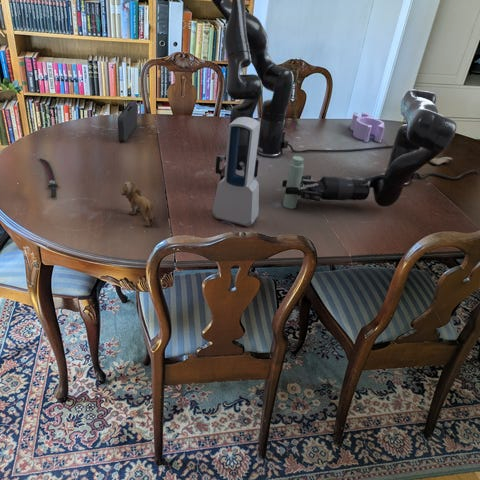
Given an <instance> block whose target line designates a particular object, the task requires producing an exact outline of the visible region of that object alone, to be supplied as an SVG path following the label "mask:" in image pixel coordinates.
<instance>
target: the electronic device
mask: <svg viewBox="0 0 480 480" xmlns="http://www.w3.org/2000/svg"><path fill="white" fill-rule="evenodd" d="M260 122H261V121H259V120H257V119H255V118H254V117H253V118H249V117H239V118H236V119H235V120H234V121H233V122H232V123H230V122H229V124H228V127H227V129H228V130H227V142H226V153H225V155H226V161H225V165H224V167H225V177H224V178H223V179H222V180H221V181H220V180H219V182H218V184H217V186H216V191H215V196H214V201H213V205H212V209H211V210H212V211H211V212H212V215H213V217H215V219H217V220H221V221H225V222H229V223H233V224H237V225H241V226H245V227H250V226H251V225H253V223H254V222H255V221H256V219H257V218H258V216H259V207H260V205H259V203H260V183H259V182H258V181H257V179H256V178H255V177H254V171H255V162H256V158H257V154H258V153H257V146H258V139H259V131H260ZM240 128H242V129H245V130H247V131H249V132H248V142H247V151H246V161H245V170H244V171H243V175H241V174H238V173H237V170H236V164H237V154H238V143H239V132H240Z"/></svg>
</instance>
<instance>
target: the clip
mask: <svg viewBox="0 0 480 480" xmlns="http://www.w3.org/2000/svg"><path fill="white" fill-rule="evenodd" d="M358 114H359V113H358V112H353V114H352V118H351V122H350V126H349V129H350V130H351V131H353V132H352V136H353V137H354V138H356V139H358V140H361V141H363V142H364V143H368V142H369V140H370V135H372V136H374V139H373V140H374V142H376V143H382V140H383V137H384V132H385V129H386V127H385V122H384V121H383V120H380V119H377V118H374V117H372V115H371V114H369V113H366V112H361V115H358Z"/></svg>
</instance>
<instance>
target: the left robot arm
mask: <svg viewBox="0 0 480 480" xmlns="http://www.w3.org/2000/svg"><path fill="white" fill-rule="evenodd" d="M210 1H211V2H212V3H213V5H214V6H215V7H216V9H217V10H218V12H219V13H220V14H221V16H222V17H223V18H224V20H225V21H226V23H227V25H226V28H225V32H224V39H223V40H224V48H225V54H226V60H227V78H226V92H227V94H228V96H229V97H230V99H232V100H235V101H240V100H241V101H242V100H243V101H242V102H241V103H239V104H236V105H234V106H233V107H231V110H230V116H229V117H230V118H229V124H230V123H232V122H233V121H234V120H235V119H236V118H239V117H249V118H253V119H254V113H255V112H256V108H257V107H258V103H259V101H260V98H261V95H262V92H263V88H264V89H266V90H267V91H269V92H271V93H272V97H271V99H266V100H263V102H262V105H261V114H260V121H259V122H260V129H259V137H258V145H257V154H258V155H259V156H262V157H264V158H265V157H266V158H277V157H279V156H281V155H282V154H283V149H284V150H285V149H288V147H289V148H290V151H292V152H293V153H297V154H298V153H299V154H300V153H308V152H320V153H321V152H322V153H324V152H327V153H328V152H329V153H333V152H334V153H335V152H336V153H337V152H339V153H340V152H342V153H343V152H359V151H370V150H377V149H378V150H379V149H388V148H393V145H394V144H393V145H383V146H374V147H373V146H372V147H365V148H352V149H304V150H294V148H293V146H292V144H290V143H289V141H288V140H286V139H285V136H286V130H284V128H285V122H286V120H285V119H286V117H287V116H286V115H287V110H288V109H287V108H289V106H290V105H289V104H290V101H291V99H290V98H292V96H291V95H292V91H293V89H292V88H294V87H293V86H294V84H293V80H294V74H293V73H294V72H293V70H289V69H287V68H286V67H284V66H280V65H278V64H276V63H275V62H274V61H273V59H272V58H271V56H270V54H269V51H268V50H269V37H268V34H267V31H266V30H265V28H264V27H263V24H262V23H261V21H260V19H259V18H258V17H256V16H255V15H254V14H252V13H250V12H248V11H247V10H246V0H210ZM250 65H252V66H253V68H254V70H255V72H256V74H253V73H252V74H241V70H242V69H243V70H244V69H246V68H248V67H249V66H250ZM248 132H249V131H247V130H245V129H242V128H240V132H239V143H238V154H237V164H236V171H243V172H244V170H245V161H246V151H247V142H248ZM223 161H225V162H226V154H225V155H221V154H220V153H217V154H216V159H215V171H214V173H215V174H217V175H219V176H220V179H219V182H220V181H221V180H222V179H223V178H224V177H225V166H224V167H223V168H222V169H221V168H220V167H221V166H220V165H221V163H223ZM258 172H259V158H258V157H256V162H255V171H254V178H257V177H258Z"/></svg>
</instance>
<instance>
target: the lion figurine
mask: <svg viewBox="0 0 480 480" xmlns="http://www.w3.org/2000/svg"><path fill="white" fill-rule="evenodd" d="M119 193H120V194H121V196H122V197H124V196H125V198H126V199H127V200H128V202H129V203H130V207H131V211H130V212H129V213H130V215H135V214H136V211H137V212H141V214H142V216H143V218H144V219H145V223H144V225H145V227H149V226H150V221H152V223H153V225H155V226H159V222H156V221H155V219H154V217H153V216H154V215H153V204H152V202H151V200H150V199H148V198H146V197H145V196H144V195H143V194H142V192H141V190H140V187H138V185H136V184H135V183H133V182H132V181H125V182H124V186H122V188H121V189H119ZM136 207H137V208H136ZM148 214H149V216H148Z"/></svg>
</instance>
